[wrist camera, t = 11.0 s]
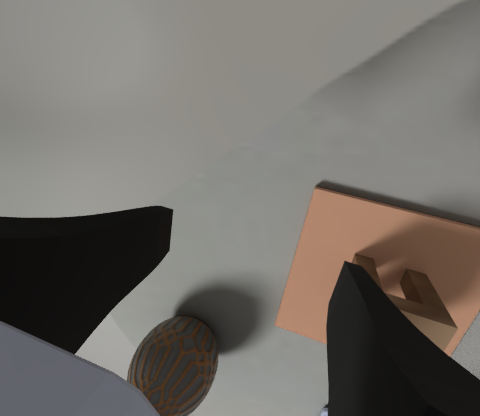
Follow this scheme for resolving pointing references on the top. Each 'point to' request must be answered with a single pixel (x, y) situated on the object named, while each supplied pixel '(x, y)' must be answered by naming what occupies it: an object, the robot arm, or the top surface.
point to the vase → (175, 365)
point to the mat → (379, 259)
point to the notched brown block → (418, 303)
